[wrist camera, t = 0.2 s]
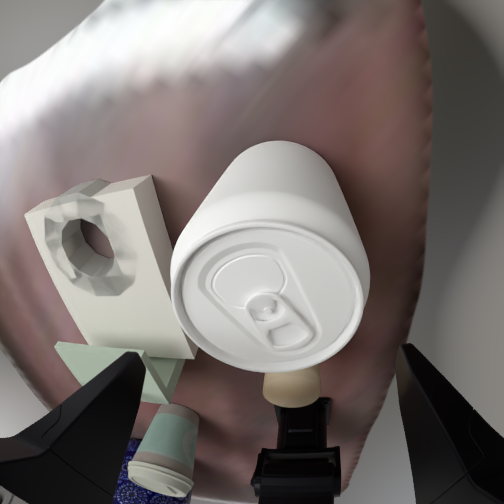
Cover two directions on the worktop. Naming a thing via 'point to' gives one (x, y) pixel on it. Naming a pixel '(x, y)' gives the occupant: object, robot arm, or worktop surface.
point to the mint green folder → (98, 358)
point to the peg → (293, 387)
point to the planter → (134, 496)
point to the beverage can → (271, 263)
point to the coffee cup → (167, 452)
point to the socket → (113, 266)
